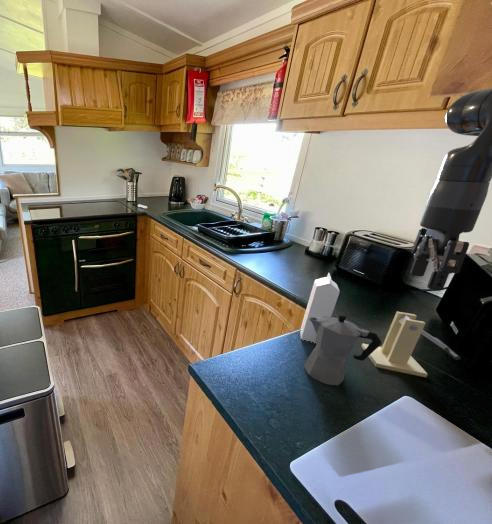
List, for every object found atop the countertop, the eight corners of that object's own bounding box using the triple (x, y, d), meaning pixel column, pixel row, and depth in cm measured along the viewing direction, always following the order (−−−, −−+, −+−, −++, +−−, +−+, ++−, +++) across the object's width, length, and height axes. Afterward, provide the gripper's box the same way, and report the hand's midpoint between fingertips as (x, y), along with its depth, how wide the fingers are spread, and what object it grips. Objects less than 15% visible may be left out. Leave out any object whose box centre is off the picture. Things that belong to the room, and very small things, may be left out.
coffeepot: (294, 373, 77) (312, 314, 71) (297, 354, 84) (313, 300, 78) (364, 399, 69) (391, 336, 63) (361, 377, 77) (384, 318, 71)
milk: (300, 339, 92) (319, 276, 84) (299, 330, 97) (317, 270, 90) (322, 345, 90) (343, 281, 82) (320, 335, 95) (339, 274, 87)
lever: (433, 343, 84) (441, 337, 83) (455, 362, 76) (464, 356, 75) (392, 315, 85) (399, 309, 84) (409, 331, 77) (417, 325, 76)
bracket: (406, 355, 88) (425, 312, 82) (426, 377, 78) (449, 331, 73) (361, 346, 91) (377, 304, 85) (375, 366, 81) (394, 321, 76)
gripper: (505, 211, 48) (467, 299, 54) (458, 202, 61) (431, 274, 66) (446, 208, 51) (416, 291, 57) (413, 200, 64) (391, 268, 69)
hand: (424, 281), depth 61 cm, fingers open, 8 cm apart
